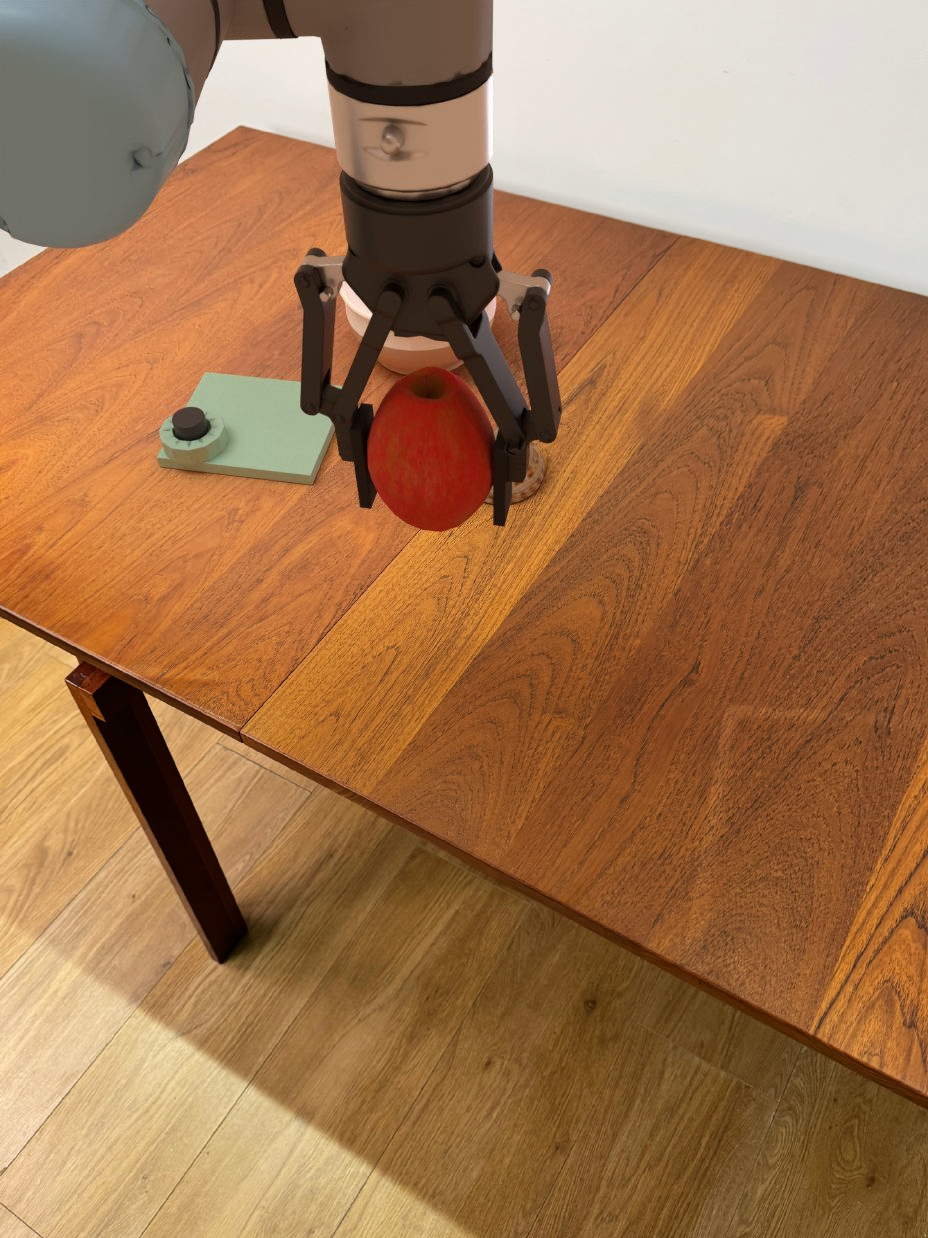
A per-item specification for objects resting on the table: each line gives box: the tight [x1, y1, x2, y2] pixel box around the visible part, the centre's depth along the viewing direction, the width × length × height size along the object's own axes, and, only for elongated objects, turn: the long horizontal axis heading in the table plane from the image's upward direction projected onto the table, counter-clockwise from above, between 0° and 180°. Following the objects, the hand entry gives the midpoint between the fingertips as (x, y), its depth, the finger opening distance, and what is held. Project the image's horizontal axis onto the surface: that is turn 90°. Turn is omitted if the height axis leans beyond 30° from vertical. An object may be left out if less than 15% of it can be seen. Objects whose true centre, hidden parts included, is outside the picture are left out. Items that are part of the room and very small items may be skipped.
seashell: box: [484, 427, 545, 505], centre depth 91 cm, size 8×6×8 cm
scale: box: [156, 371, 343, 486], centre depth 95 cm, size 15×13×3 cm
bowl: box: [339, 281, 497, 376], centre depth 102 cm, size 16×16×8 cm
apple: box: [367, 366, 495, 533], centre depth 62 cm, size 8×8×11 cm
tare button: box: [171, 406, 208, 442], centre depth 92 cm, size 3×3×2 cm
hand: (436, 502), depth 66 cm, fingers closed on apple, 8 cm apart
